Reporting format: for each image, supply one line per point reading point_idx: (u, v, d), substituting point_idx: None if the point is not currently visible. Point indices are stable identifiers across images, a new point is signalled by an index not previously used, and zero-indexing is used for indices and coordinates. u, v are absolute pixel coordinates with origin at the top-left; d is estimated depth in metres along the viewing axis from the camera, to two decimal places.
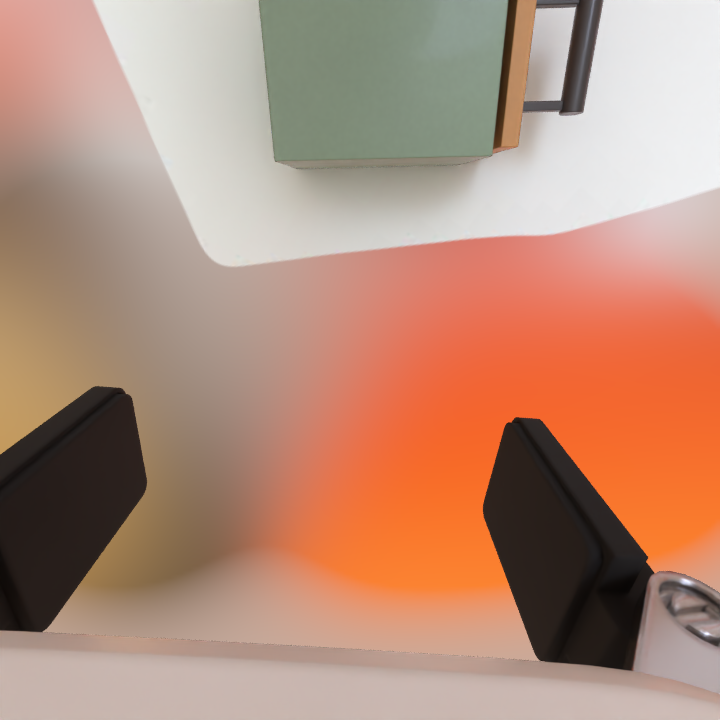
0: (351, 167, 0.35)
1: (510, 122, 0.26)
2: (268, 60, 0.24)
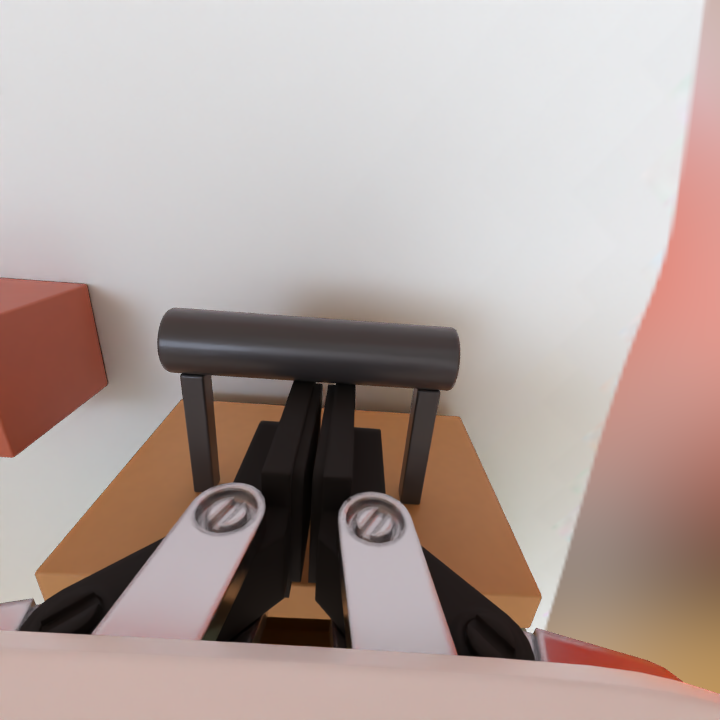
0: None
1: None
2: None
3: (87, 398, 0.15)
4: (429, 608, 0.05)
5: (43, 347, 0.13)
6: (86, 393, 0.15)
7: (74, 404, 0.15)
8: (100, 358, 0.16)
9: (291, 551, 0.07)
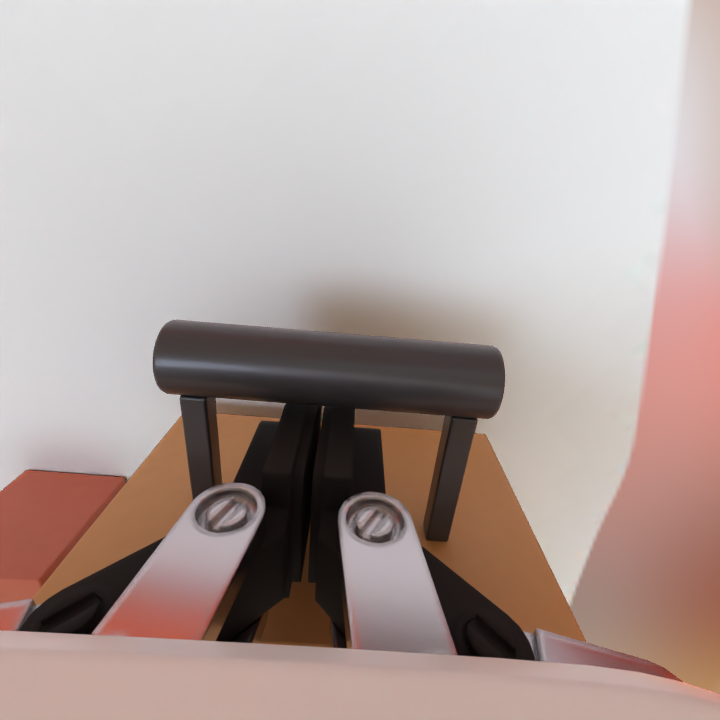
0: None
1: None
2: None
3: None
4: (429, 608, 0.05)
5: None
6: None
7: None
8: None
9: (291, 551, 0.07)
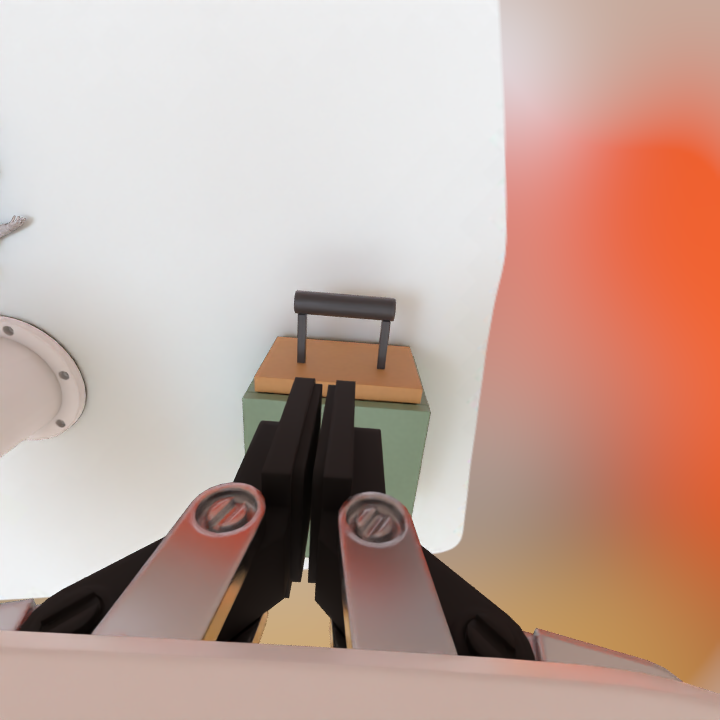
0: None
1: (400, 397, 0.27)
2: None
3: None
4: (429, 608, 0.05)
5: None
6: None
7: None
8: None
9: (291, 551, 0.07)
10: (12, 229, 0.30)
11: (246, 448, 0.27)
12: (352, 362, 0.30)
